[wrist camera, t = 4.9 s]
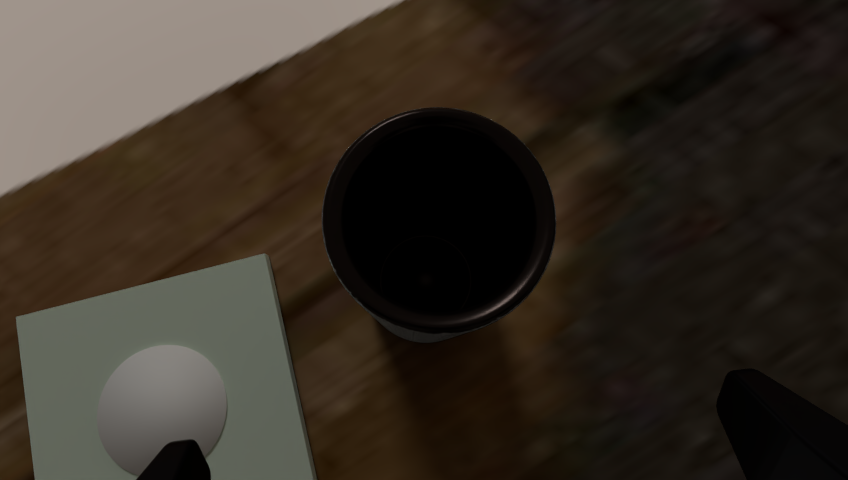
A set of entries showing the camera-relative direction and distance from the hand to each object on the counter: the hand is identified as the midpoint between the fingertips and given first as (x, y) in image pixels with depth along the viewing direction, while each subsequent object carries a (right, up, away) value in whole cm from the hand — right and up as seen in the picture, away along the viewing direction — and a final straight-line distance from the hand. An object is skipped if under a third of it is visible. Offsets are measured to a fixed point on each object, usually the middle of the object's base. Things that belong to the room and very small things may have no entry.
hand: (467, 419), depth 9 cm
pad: (-10, -3, +10) cm, 14 cm away
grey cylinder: (-1, +1, +11) cm, 12 cm away
